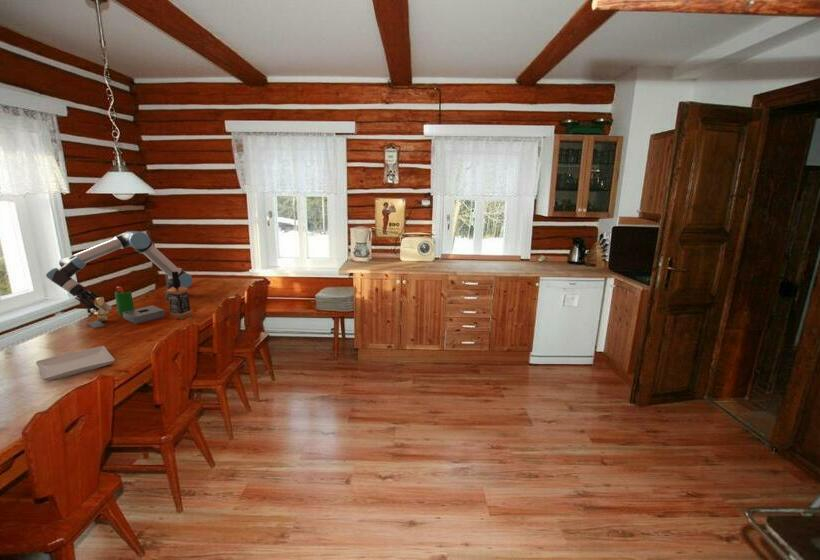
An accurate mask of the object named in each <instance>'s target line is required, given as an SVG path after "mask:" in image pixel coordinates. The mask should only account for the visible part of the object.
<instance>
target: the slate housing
mask: <svg viewBox="0 0 820 560" xmlns="http://www.w3.org/2000/svg"><path fill="white" fill-rule="evenodd" d="M165 317H166V312H165V309H163V308H162V307H161V308H160V307H158V306H155V305H153V304H151V305H147V306H143V307H138V308H134V309H133V310H129V311H124V312H123V314H122V318H123V319H124V320H126V321H128V322H130V323H132V324H135V325H136V324H141V323H146V322H149V321H150V322H151V321H153V320H158V319H161V318H165Z"/></svg>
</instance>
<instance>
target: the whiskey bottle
mask: <svg viewBox="0 0 820 560" xmlns="http://www.w3.org/2000/svg"><path fill="white" fill-rule="evenodd" d="M172 277H173V280H172V284H173V287H172V288H170V289H169V290H167V289H166V292H167V294H168V297H169V300H168V305H169V311H170V312H169V317H170V318H174V319H175V320H176V321H183V320H186V319H188V318H191V317H193V313H192V310H191V305H190V300H189V299H190V298H189V294H188V293H189V290H188V287H187V288H185V287H182V286H181V285H180V280H179V275H178V272H172Z"/></svg>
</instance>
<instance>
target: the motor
mask: <svg viewBox="0 0 820 560" xmlns="http://www.w3.org/2000/svg"><path fill="white" fill-rule="evenodd" d="M114 297H115V303H116V309H117V315H119V316H120V315H123V312H124V311H129V310H133V309H135V307H134V301H133V294H132V291H127V292H125V291H124V289H123V287H122V286H116V287H115V291H114Z"/></svg>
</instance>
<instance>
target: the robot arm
mask: <svg viewBox="0 0 820 560" xmlns="http://www.w3.org/2000/svg"><path fill="white" fill-rule="evenodd" d="M129 247H130V248H132V249H134V250H135V252H137V253H138V254H143V255H144V256H145V257H147V259H149V260H150V261H151V262H152V263H153V264H154V265H156V267H158V268H159V269H160V270H161V271H162V272H163V273H164V277H165V278H164V279H165V282H166V292H165V299H166V300H168V301H169V297H168V294H167V290H169V289H170V288H172V287H173V284H172V280H173V277H172V272H178V275H179V280H180V285H181V286H182V287H185V288H187V289H188V288H189V287H190V286H191V285H192V284H193V280H194V279H193V277H192V275H191V274H189V273H187V272H186V271H185V270H184V269H182V268H181V267H177V266H176V265H175V264H174V263H173V262H172V261H171V260H170V259H169V258H168V257H166V256H165V255H164V254H163V253H162V252H161V251H160V249H157V247H156V246H154V241H152V240H151V238H150V237H149V234H148V235H147V234H146V233H145V232H143V231H138V230H132V229H130V230H127V231H125V232H123V233H120V234H118V235H115V236H114V237H113V238H112V239H110V240H107V241H105V242H102V243H99V244H97V245H94V246H93V247H90V248H87V249H85V250H83V251H80V252H77V253H75V254H73V255H70V256H68V257H62V258H60V260H59V261H58V264H59V266H60V268H57V267H54V268H52V269H50V270H49V271H48V272H47V273H46V274H45V277H46V278H47V279H49V280H50V281H51V282H53V283H54V284H56V286H59V287H61V288H62V289H64V291H66V292H68V293H69V294H70V295H72V296H73V297H75V298H74V299H75V300H76V301H78V302H80V303H81V304H82V305H83V306H85V307H86V308H87V309H90V310H92V309H93V310H94V311H98V312H99V313H101V314H104V312H105V310H103V309H102V308H100V307H99V306H97V305H95V303H93V302H94V299H95V298H99V297H101V296H100V295H99V294H97V293H95V292H93V290H91V289H89V290H86V289H85V286H84V285H82V284H80V283H79V282H78V281H77V280H75V279H74V278H72V277H73V276H74V275H76V274H77V273H78V272H79V271H81V270H82V269H84V267H85V266H86V265H87V263H89V262H91V261H94V260H95V259H99V258H101V257H103V256H106V255H108V254H110V253H113V252H116V251H117V250H120V249H122V250H124V249H125V248H129ZM105 307H106V310H109V311H110V310H111V309H112V308H113V306H111V305H109V304H108V303H106V302H105Z"/></svg>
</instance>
